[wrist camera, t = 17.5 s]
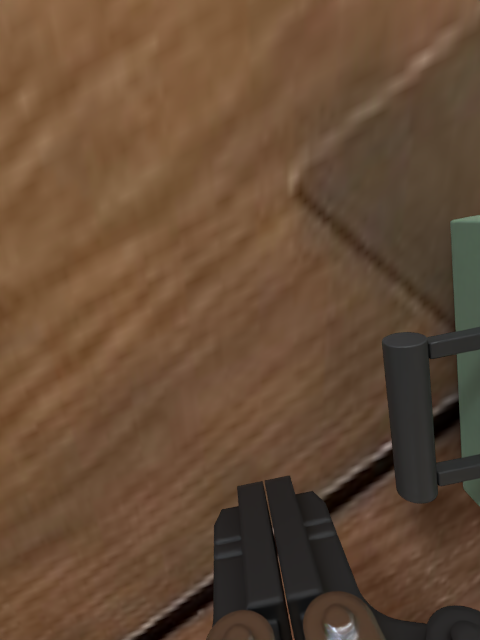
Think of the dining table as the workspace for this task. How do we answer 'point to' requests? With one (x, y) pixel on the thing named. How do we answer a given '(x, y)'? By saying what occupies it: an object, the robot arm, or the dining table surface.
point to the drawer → (415, 389)
